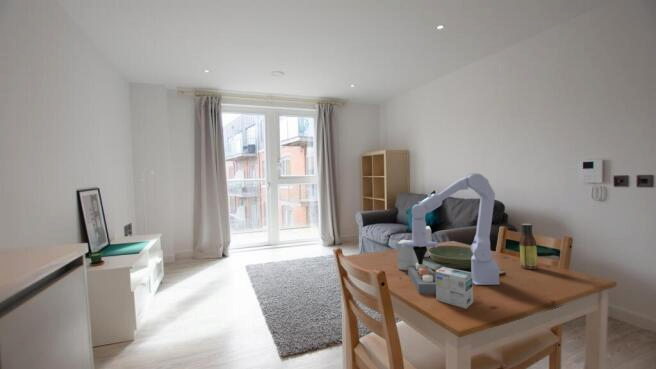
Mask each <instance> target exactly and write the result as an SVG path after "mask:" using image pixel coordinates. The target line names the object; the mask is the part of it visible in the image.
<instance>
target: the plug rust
mask: <svg viewBox="0 0 656 369" xmlns="http://www.w3.org/2000/svg"><path fill="white" fill-rule="evenodd" d="M426 274H428V275H429V269H427V268H419V276H423V275H426Z"/></svg>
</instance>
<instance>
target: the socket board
mask: <svg viewBox="0 0 656 369" xmlns="http://www.w3.org/2000/svg"><path fill="white" fill-rule="evenodd" d="M425 268H427V269H429V275H432V276H433V282H423V276H419V271H416V266H408V270H407V275H408V277H409V278H410V280H411V283H412V284H413V286H414V287H415V289H416V291H417V293H418V294H426V295H427V294H429V295H430V294H432V295H433V294H435V295H436V275H435V272H434V271H433V269H432V268H431V267H430V266H429V265H425Z"/></svg>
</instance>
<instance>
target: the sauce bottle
mask: <svg viewBox="0 0 656 369" xmlns="http://www.w3.org/2000/svg"><path fill="white" fill-rule="evenodd" d="M520 228H521V235H520V237H519V254H520V255H519V256H520V265H521V266H520V267H521V268H522V269H526V270H537V269H538V252H537V242H536V238H535V237H534V235H533V224H532V223H521V227H520Z"/></svg>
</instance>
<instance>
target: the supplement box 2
mask: <svg viewBox="0 0 656 369" xmlns="http://www.w3.org/2000/svg"><path fill="white" fill-rule="evenodd" d="M426 241H429V242H433V241H432V229H431V227H430V225H426ZM426 248H427V252H426V253H425V256H424V258H426V257H427V258H430V257H429V253H428V251H429V249H430V248H432V249H433V247H426Z"/></svg>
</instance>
